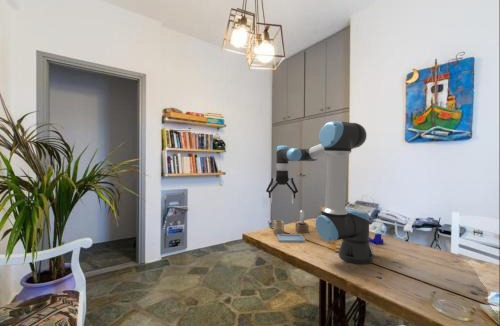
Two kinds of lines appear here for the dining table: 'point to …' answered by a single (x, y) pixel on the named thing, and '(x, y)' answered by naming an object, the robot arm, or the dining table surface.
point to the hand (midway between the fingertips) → (281, 203)
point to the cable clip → (376, 239)
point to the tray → (290, 238)
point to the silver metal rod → (301, 217)
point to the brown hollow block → (302, 228)
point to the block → (278, 227)
